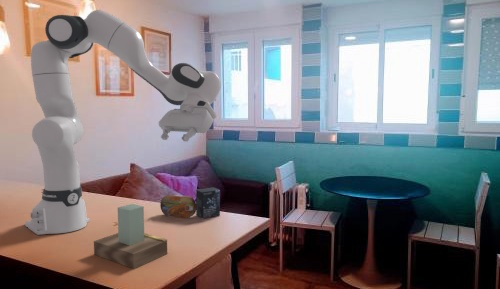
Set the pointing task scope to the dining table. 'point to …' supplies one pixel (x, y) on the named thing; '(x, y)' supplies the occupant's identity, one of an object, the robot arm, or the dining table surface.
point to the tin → (178, 206)
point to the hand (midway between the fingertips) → (173, 139)
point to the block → (131, 224)
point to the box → (207, 202)
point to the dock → (131, 250)
